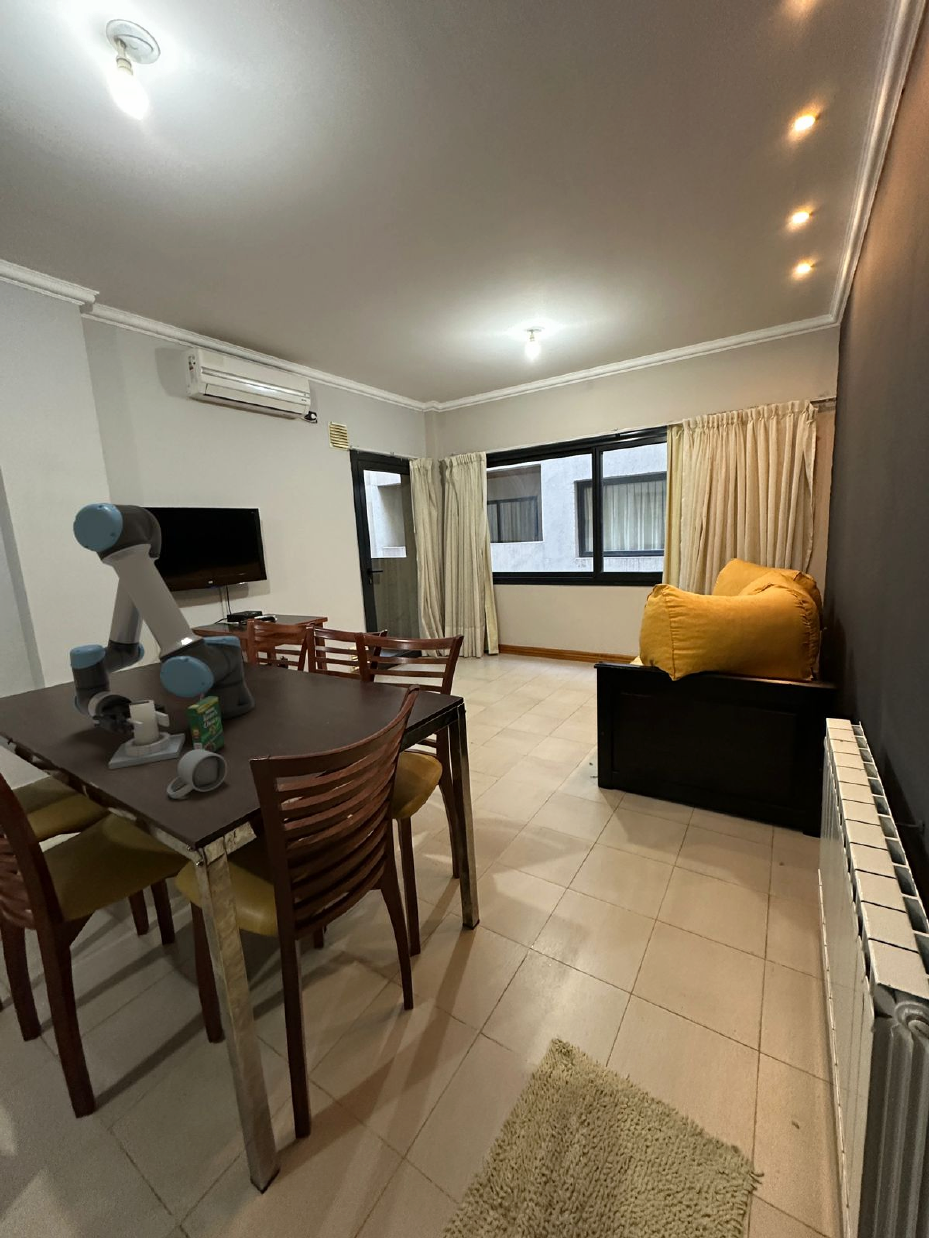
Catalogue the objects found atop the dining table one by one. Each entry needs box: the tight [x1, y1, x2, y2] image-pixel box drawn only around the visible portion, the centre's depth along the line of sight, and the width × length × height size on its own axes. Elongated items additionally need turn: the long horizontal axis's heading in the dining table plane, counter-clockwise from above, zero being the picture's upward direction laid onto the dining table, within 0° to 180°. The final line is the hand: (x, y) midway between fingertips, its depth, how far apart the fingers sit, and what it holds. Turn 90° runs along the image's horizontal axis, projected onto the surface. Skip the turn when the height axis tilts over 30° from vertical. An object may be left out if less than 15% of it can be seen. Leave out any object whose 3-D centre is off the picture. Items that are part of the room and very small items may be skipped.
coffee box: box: [187, 696, 225, 753], centre depth 120 cm, size 8×3×13 cm, turn 171°
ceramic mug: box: [166, 749, 228, 800], centre depth 104 cm, size 11×8×8 cm
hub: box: [108, 731, 186, 770], centre depth 122 cm, size 14×12×4 cm
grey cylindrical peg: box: [129, 699, 160, 746], centre depth 121 cm, size 5×5×11 cm
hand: (155, 724), depth 118 cm, fingers closed on grey cylindrical peg, 5 cm apart
